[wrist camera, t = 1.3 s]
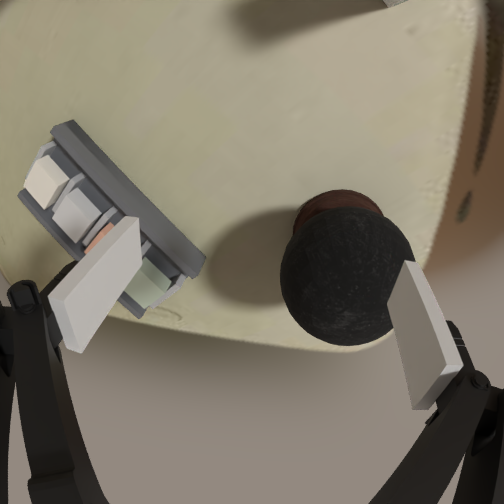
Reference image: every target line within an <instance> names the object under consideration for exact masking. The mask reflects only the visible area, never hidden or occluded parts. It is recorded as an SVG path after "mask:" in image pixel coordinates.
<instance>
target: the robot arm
mask: <svg viewBox="0 0 504 504" xmlns="http://www.w3.org/2000/svg"><path fill="white" fill-rule="evenodd" d="M141 265H142V254H141V242H140V228H139V218H137V217H130V216H125V217H124V218H123V219H122V220H121V221H120V222H118V223H117V224H116V225H115V226H114V227H113V228H112V229H111V230H110V231H109V232H108V233H107V234H106V235H105V236H104V237H103V238H102V239H101V240H100V241H99V242H98V243H97V244H96V245H95V246H94V247H93V248H92V249H91V250H90V251H89V252H88V253H87V254H86V255H85V256H84V257H83V258H82V259H81V260H80V261H76V260H75V261H73V262H71V263H69V264H68V265H66V266H65V267H64V268H63V269H62V270H61V271H60V272H59V274H57V275H56V276H55V277H54V280H53V279H52V280H51V282H50V283H49V284H48V285H47V286H46V287H45V288H44V289H43V290H42V291H41V292H40V293H39V292H38V289H37V286H36V283H35V282H33V281H31V280H22V281H19V282H16V283H15V284H13V285H12V286H11V287H10V288H9V289H8V292H7V296H8V299H9V301H10V304H11V306H12V307H5V306H2V304H1V301H0V504H8V449H9V433H10V421H11V412H12V403H13V395H14V389H15V382H16V388H17V397H18V405H19V413H20V419H21V426H22V431H23V437H24V442H25V447H26V452H27V456H28V461H29V465H30V470H31V478H30V479H29V480H28V485H27V486H28V491H29V495H30V498H31V502H32V504H109V502H108V501H107V499H106V498H105V496H104V494H103V492H102V490H101V487H100V485H99V482H98V480H97V477H96V475H95V472H94V470H93V467H92V465H91V461H90V459H89V456H88V453H87V450H86V447H85V444H84V441H83V438H82V435H81V432H80V428H79V425H78V422H77V418H76V415H75V411H74V407H73V404H72V400H71V396H70V392H69V388H68V384H67V379H66V375H65V371H64V366H63V361H62V355H61V351H60V348H59V346H58V345H59V343H60V342H61V340H62V339H63V340H64V342H65V345H66V348H67V349H70V350H73V351H76V352H78V353H82V352H83V350H84V349H85V347H86V346H87V344H88V343H89V341H90V340H91V338H92V336H93V335H94V333H95V332H96V330H97V329H98V327H99V326H100V324H101V323H102V321H103V320H104V318H105V317H106V315H107V314H108V312H109V311H110V310H111V308H112V307H113V305H114V304H115V302H116V301H117V299H118V298H119V296H120V295H121V294H122V292H123V291H124V289H125V288H126V286H127V285H128V284H129V282H130V281H131V279H132V278H133V277H134V275H135V274H136V272H137V271H138V270H139V268H140V267H141ZM387 306H388V310H389V313H390V317H391V320H392V324H393V328H394V331H395V335H396V339H397V343H398V347H399V351H400V355H401V359H402V363H403V368H404V372H405V376H406V380H407V385H408V390H409V395H410V400H411V404H412V409H413V410H428V409H429V408H430V407H431V406H432V405H433V404H434V402H435V401H436V404H437V408H438V409H437V410H436V411H435V412H434V413H433V414H432V416H431V417H430V418H429V419H428V420H427V421H426V422H425V424H427V425H426V426H425V428H424V430H423V431H422V433H421V434H420V436H419V437H418V439H417V440H416V442H415V443H414V445H413V446H412V448H411V449H410V451H409V452H408V454H407V455H406V456H405V458H404V459H403V460H402V462H401V463H400V465H399V466H398V467H397V469H396V470H395V471H394V473H393V474H392V475H391V477H390V478H389V479H388V480H387V482H386V483H385V484H384V485H383V487H382V488H381V489H380V490H379V492H378V493H377V494H376V495H375V496H374V498H373V499H372V500H371V501H370V502H369V504H437V503H438V501H439V500H440V498H441V496H442V495H443V493H444V491H445V490H446V488H447V486H448V484H449V483H450V480H451V478H452V477H453V475H454V473H455V472H456V470H457V468H458V466H459V463H460V462H461V460H462V458H463V456H464V454H465V457H464V461H463V466H462V470H461V474H460V478H459V481H458V485H457V489H456V493H455V496H454V499H453V502H452V504H504V389H499V388H497V387H493V386H491V384H490V381H489V379H488V378H487V377H486V376H485V375H484V374H483V373H482V372H480V371H477V370H475V368H474V366H473V363H472V361H471V358H470V356H469V353H468V351H467V349H466V347H465V344H464V341H463V340H462V337H461V334H460V332H459V330H458V328H457V327H456V326H455V325H454V324H453V322H452V321H447V320H445V318H444V316H443V314H442V312H441V309H440V307H439V305H438V303H437V301H436V298H435V296H434V294H433V292H432V290H431V288H430V286H429V284H428V282H427V280H426V278H425V276H424V274H423V272H422V270H421V268H420V266H419V264H418V262H412V261H406V260H405V261H404V263H403V266H402V268H401V271H400V273H399V276H398V278H397V281H396V283H395V286H394V288H393V291H392V293H391V295H390V298H389V300H388V302H387Z"/></svg>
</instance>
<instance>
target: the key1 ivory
mask: <svg viewBox="0 0 504 504" xmlns="http://www.w3.org/2000/svg"><path fill="white" fill-rule="evenodd" d="M68 181H69V178H68V176H67V175H66V174H65V173H64V172H63V171H62V170H61V169H60V168H59V166H58V165H57V164H56V163H55V162H54V161H53V160H52V159H51V157H50V156H49V155H46V156H44V157H42V158H40V159H38V160H36V161H35V163H34V165H33V167H32V169H31V171H30V173H29V175H28V177H27V179H26V181H25V183H24V185H23V186H24V187H25V188H26V189H27V191H28V192H29V193H30V194H31V195H32V196H33V198H34V199H35V200H36V201H37V202H38V203H39V204H40V206H41V207H42V208H43V209H44V210H45V209H46V208H48V207H49V206H51V205H52V204H53V203H55V202H56V200H57V199H58V197H59V195H60V194H61V192H62V190H63V189H64V187H65V186H66V184H67V183H68Z"/></svg>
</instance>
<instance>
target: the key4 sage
mask: <svg viewBox="0 0 504 504" xmlns="http://www.w3.org/2000/svg"><path fill="white" fill-rule="evenodd" d="M170 284H171V281H170V280H169V279H168V278H167V277H166V276H165V275H164V274H163V273H162V272H161V271H160V270H159V269H158V268H157V267H156V266H155V265H153V264H152V263H151V262H150V261H149V260H148V259H147V258H146V257H144V258H143V259H142V265H141V267H140V268H139V270H138V271H137V272H136V274H135V275H134V277H133V278H132V279H131V281H130V282H129V284H128V285H127V286H126V288H125V289H124V291H125V292H126V293H127V294H128V295H129V296H130V297H131V298H133V299H134V300H135V301H136V302H137V303H138V304H139V305H140V306H141V307H143V308H144V309H146V308H147V307H148V306H149V305H151V304H152V303H153V302H155V301H156V300H157V299H159V298H160V297H161V296H163V295H164V294H165V293H166V291H167V289H168V287H169V286H170Z"/></svg>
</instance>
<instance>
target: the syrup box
mask: <svg viewBox="0 0 504 504" xmlns="http://www.w3.org/2000/svg"><path fill="white" fill-rule="evenodd" d="M383 1H384V3H385V4H386V5H387V7H392V6H395V5H397V4H400V3H403V2H405V1H407V0H383Z"/></svg>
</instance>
